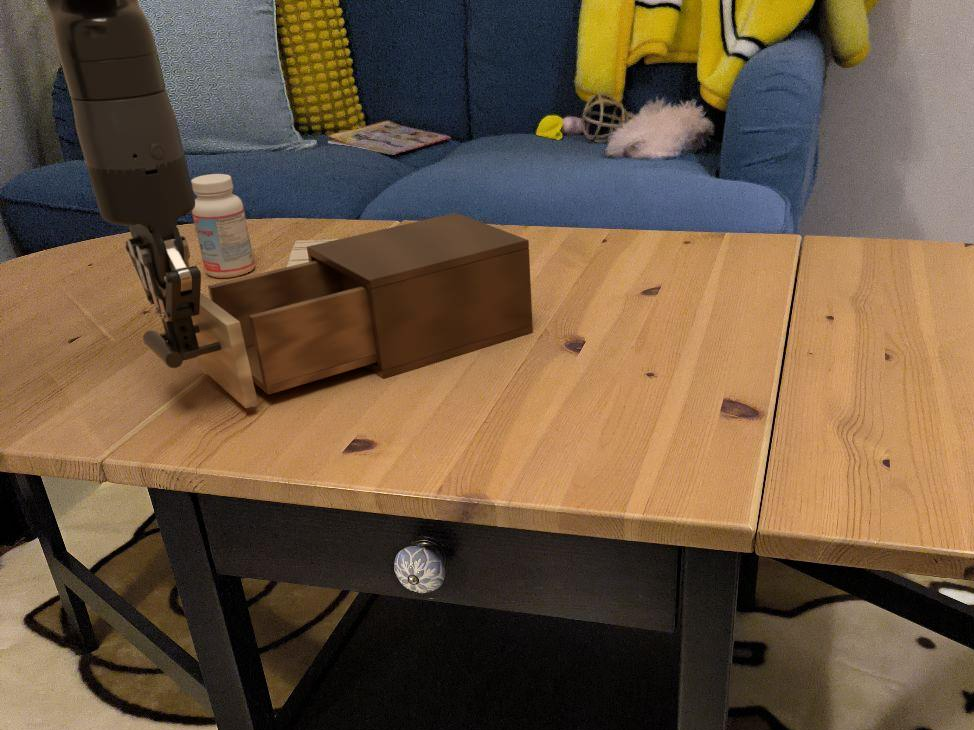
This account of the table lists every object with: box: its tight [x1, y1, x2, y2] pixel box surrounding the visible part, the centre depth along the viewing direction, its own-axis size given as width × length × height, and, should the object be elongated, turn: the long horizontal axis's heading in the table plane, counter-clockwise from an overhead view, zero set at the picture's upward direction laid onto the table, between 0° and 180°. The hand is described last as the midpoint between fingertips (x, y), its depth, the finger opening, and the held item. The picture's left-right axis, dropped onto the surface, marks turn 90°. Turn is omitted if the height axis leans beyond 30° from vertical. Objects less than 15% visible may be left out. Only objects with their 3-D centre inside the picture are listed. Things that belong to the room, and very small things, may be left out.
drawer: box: [142, 260, 378, 409], centre depth 90 cm, size 21×12×8 cm, turn 126°
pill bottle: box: [190, 173, 256, 279], centre depth 118 cm, size 6×6×11 cm
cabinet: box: [307, 212, 534, 379], centre depth 98 cm, size 18×14×10 cm
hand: (186, 356), depth 87 cm, fingers closed
